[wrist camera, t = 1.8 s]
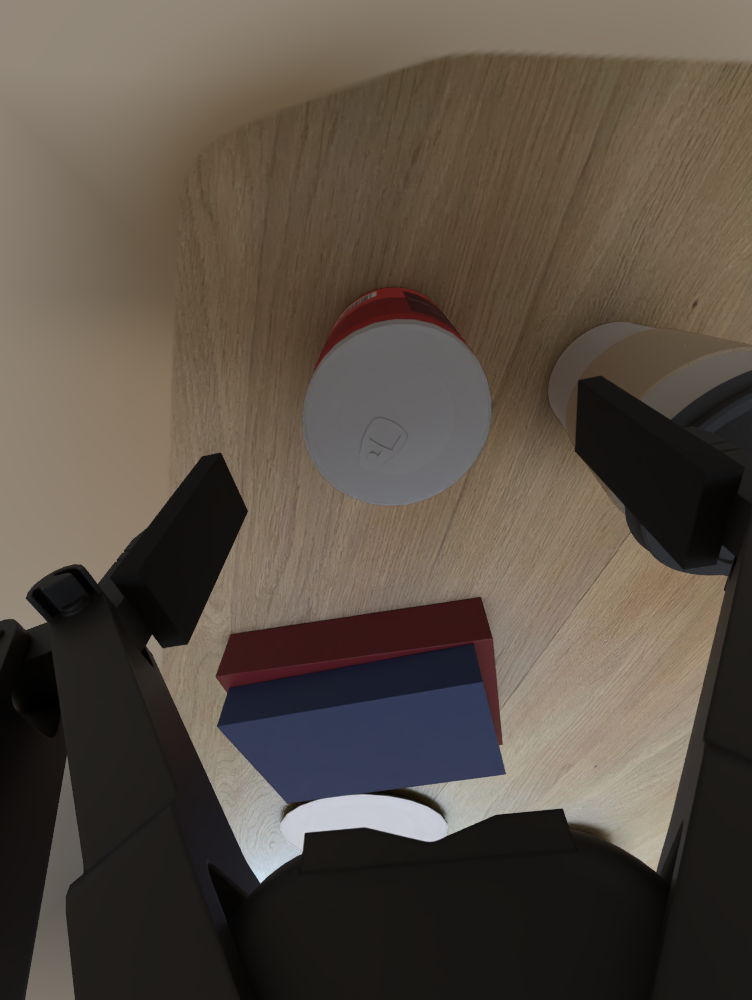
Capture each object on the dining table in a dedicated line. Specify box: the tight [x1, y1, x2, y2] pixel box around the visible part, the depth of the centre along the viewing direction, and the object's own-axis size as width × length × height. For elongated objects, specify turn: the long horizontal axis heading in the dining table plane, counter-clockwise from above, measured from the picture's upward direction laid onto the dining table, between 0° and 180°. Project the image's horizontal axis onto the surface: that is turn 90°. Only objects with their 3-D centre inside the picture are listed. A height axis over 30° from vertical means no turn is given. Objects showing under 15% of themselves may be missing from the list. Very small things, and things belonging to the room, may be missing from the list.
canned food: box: [302, 287, 492, 506], centre depth 21 cm, size 8×8×11 cm
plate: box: [280, 793, 448, 852], centre depth 63 cm, size 25×25×2 cm
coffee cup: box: [548, 322, 752, 576], centre depth 21 cm, size 9×9×15 cm
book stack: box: [216, 598, 506, 803], centre depth 40 cm, size 17×24×8 cm
